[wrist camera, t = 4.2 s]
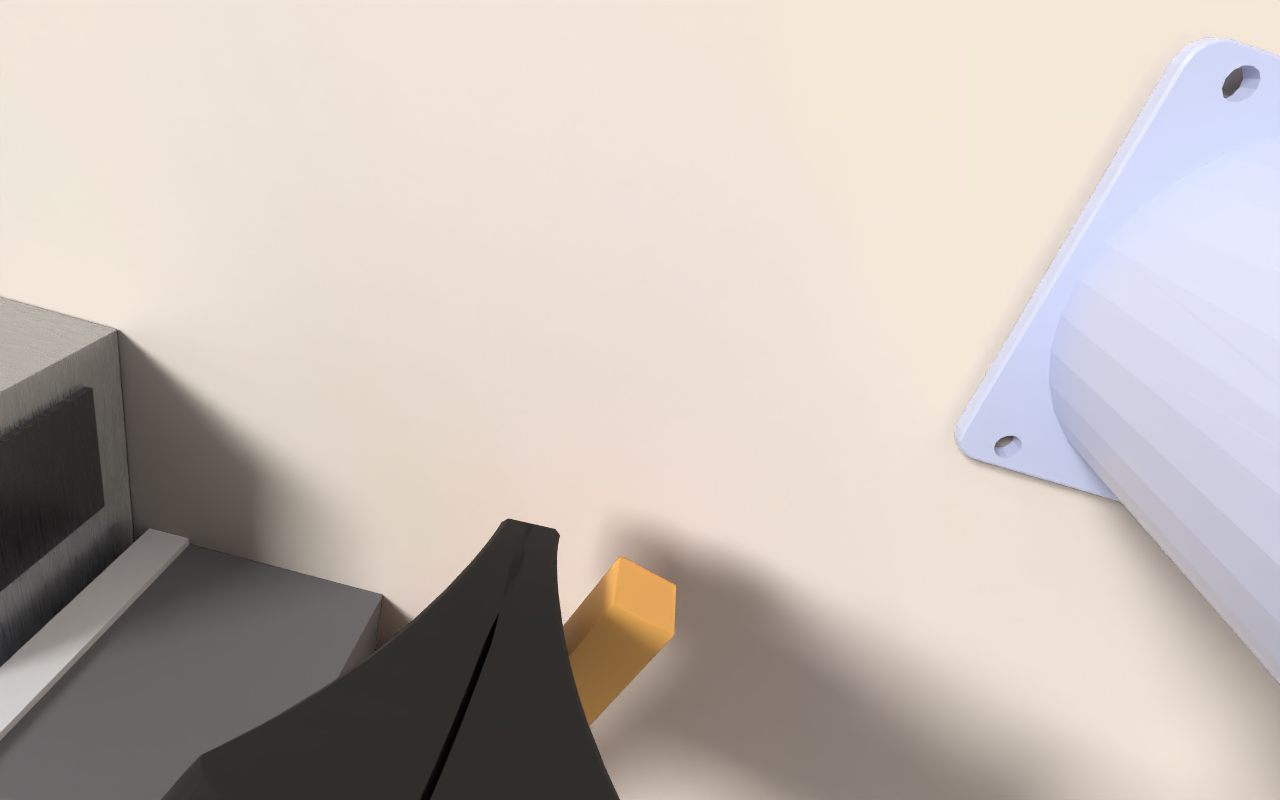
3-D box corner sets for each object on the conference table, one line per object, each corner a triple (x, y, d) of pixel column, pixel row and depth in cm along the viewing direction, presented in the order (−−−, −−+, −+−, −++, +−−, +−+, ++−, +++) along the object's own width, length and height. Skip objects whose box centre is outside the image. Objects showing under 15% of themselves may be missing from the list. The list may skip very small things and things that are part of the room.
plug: (481, 614, 19) (385, 880, 13) (453, 731, 21) (361, 999, 15) (149, 528, 18) (-105, 765, 12) (158, 657, 20) (-54, 908, 15)
